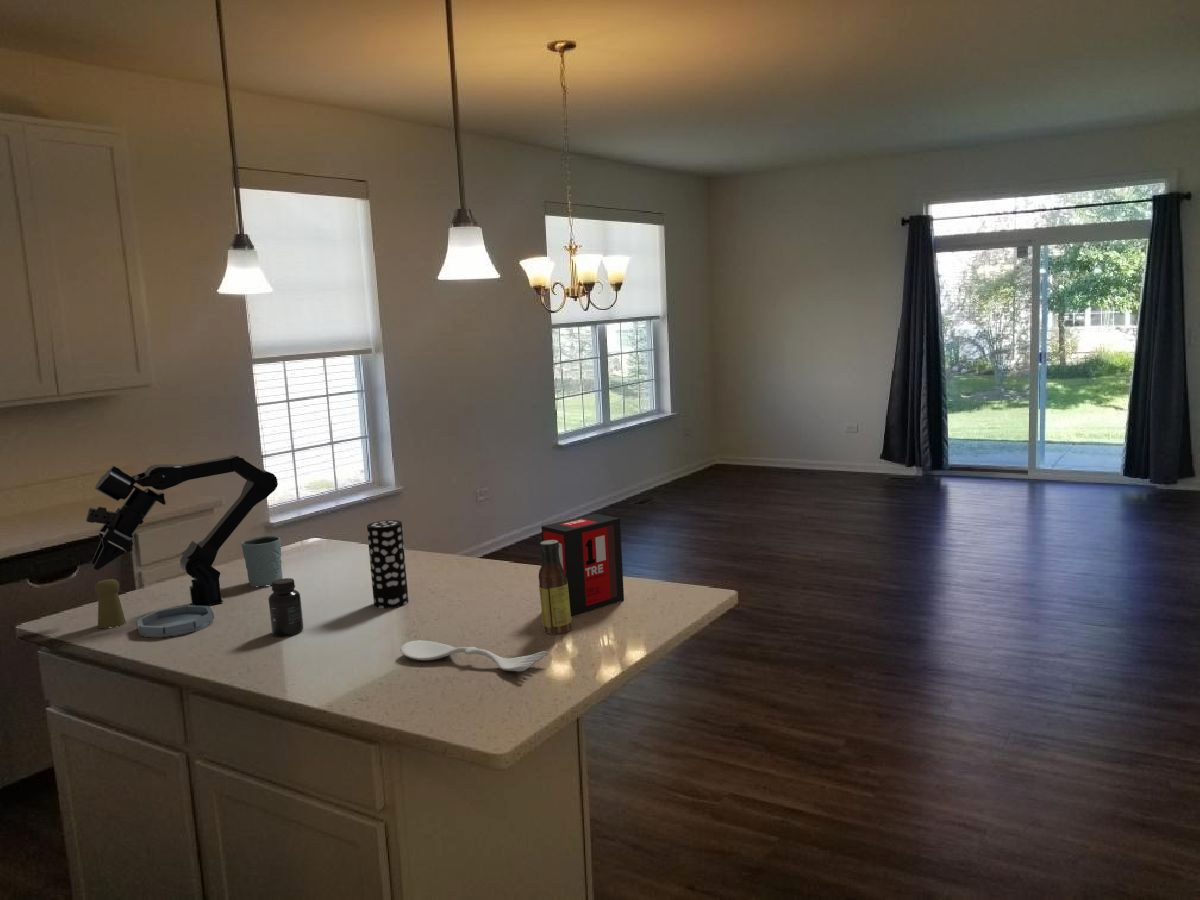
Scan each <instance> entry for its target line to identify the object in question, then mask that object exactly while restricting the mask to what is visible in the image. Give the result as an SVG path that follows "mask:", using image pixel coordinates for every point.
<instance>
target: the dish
mask: <svg viewBox="0 0 1200 900" xmlns="http://www.w3.org/2000/svg"><path fill="white" fill-rule="evenodd" d="M214 619H215V617H214V611H213V609H212V608H211V605H207V606H194V604H191V605H180V606H175V607H170V608H164V609H159V610H155V611H152V612H151V613H148V614H146V615H144V616H142V617H139V618H137V619H136V624H137V629H138V630H137V631H138V635H139V636H141V637H143V636H144V638H148V637H151V638H150V639H163V638H162V637H166V638H170V637H169V636H174V637H179V636H178V635H180V636H183V635H182V634H184V635H188V634H187V633H189V634H191V633H190V632H192V633H195V632H194V631H196V632H198V631H200V629H201V630H203V629H205V627H206V628H207V627H209V626H210V625H212V623H213V622H214Z"/></svg>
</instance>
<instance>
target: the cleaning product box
mask: <svg viewBox="0 0 1200 900" xmlns="http://www.w3.org/2000/svg"><path fill="white" fill-rule="evenodd" d="M621 532H622V531H621V518H619V517H614V516H610V515H609V516H608V515H603V514H600V513H592V514H589V515H584V516H579V517H576V518H571V519H566V520H562V521H558V522H554V523H551V524H550V523H549V524H545V525H542V526H541V542H542V541H546V540H557V541H558V542H559V548H558V550H559V558H560V563H561V565H562V568H563V570H564V571H565V574H566V577H567V582H568V592H569V602H570V612H571V618H574V617H577V616H579V615H583V614H586V613H589V612H592V611H595V610H599V609H601V608H605V607H607V606H608V607H609V606H611V605H613V604H617V603H620V602H623V601H625V594H624V593H625V592H624V590H625V589H624V574H623V573H624V571H623V569H624V568H623V556H622V555H623V554H622V553H623V551H622V550H623V549H622V533H621Z"/></svg>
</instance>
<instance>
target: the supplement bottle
mask: <svg viewBox="0 0 1200 900" xmlns="http://www.w3.org/2000/svg"><path fill="white" fill-rule="evenodd" d="M295 588H296V585H295V580H294V578H291V577H286V578H283V577H282V579H278V580H275V581H273V582H272V586H271V591H272V593H271V594H270V595H269V596H268V609H269V616H270V617H269V618H270V625H271V626H270V627H271V633H272V635H273V636H274V637H277V636H278V637H280V638H285V637H286V636H287V637H291V636H296V635H299V634H300V633H302V631H303V630H304V619H303V609H302V599H301V593H300V592H299V591H298V590H296V589H295Z"/></svg>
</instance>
